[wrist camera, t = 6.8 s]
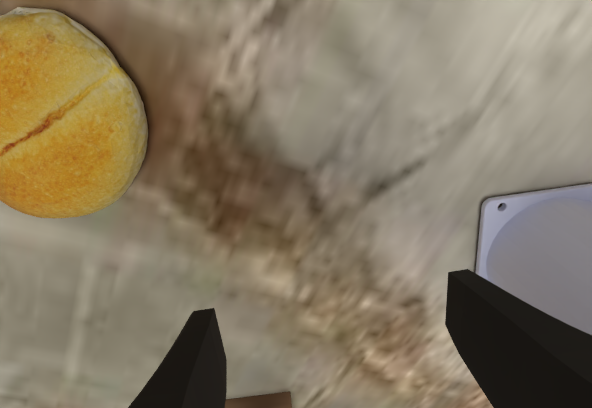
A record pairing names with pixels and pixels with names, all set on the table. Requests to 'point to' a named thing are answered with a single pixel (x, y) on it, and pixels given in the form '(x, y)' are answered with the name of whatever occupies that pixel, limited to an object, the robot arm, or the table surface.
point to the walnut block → (261, 401)
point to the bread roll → (64, 118)
